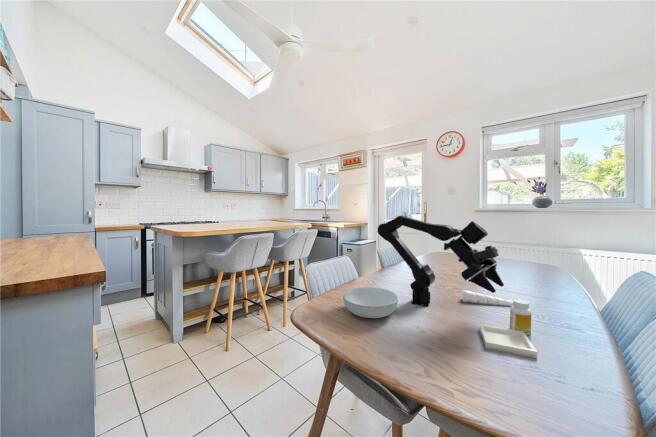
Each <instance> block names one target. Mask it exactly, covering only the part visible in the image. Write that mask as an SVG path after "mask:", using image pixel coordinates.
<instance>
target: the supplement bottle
mask: <svg viewBox="0 0 656 437" xmlns="http://www.w3.org/2000/svg"><path fill="white" fill-rule="evenodd" d="M512 302H513V305H514V306H510V308H509V309H510V310H509V312H510V314H509V329H512V330H518V331H524V333H525V334H526V336H529V335H530V334H531V333H532V310H531V309H529V308H530V302H528V301H526V300H524V299H519V298H518V299H513V300H512Z"/></svg>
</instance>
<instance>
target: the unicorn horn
mask: <svg viewBox="0 0 656 437" xmlns="http://www.w3.org/2000/svg"><path fill="white" fill-rule="evenodd" d="M461 300H462V302H464V303H473V304H474V303H475V304H484V305H493V306H494V305H495V306H504V307H512V306H514V305H513V300H507V299H504V298H499V297H496V296H491V295H487V294H484V293H483V294H482V293H480V292H479V293H478V292H474V291H470V290H466V289H463V290H462V293H461Z"/></svg>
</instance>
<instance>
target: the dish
mask: <svg viewBox="0 0 656 437" xmlns="http://www.w3.org/2000/svg"><path fill="white" fill-rule="evenodd" d="M479 332H480V335H481V338H482V342H483V343H484V344H483V345H484V347H485V349H488V350H492V351H498V352H503V353H507V354H513V355H519V356H524V357H528V358H534V359H538V350H537V349H536V347H535V346H534V344H533V343H532V341H531V340H530V339H529V337H528V335H526V334H525V333H524V331H518V330H512V329H510V328H505V327H500V326H495V325H494V326H492V325H488V324H481V323H480V324H479Z"/></svg>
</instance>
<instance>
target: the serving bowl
mask: <svg viewBox="0 0 656 437" xmlns="http://www.w3.org/2000/svg"><path fill="white" fill-rule="evenodd" d="M342 300H343V304H344V306H345V308H346V309H347V311H349V312H351V313H352V314H353V315H355V316H358V317H361V318H366V319H367V318H368V319H380V318H381V319H382V318H384V317H387V316H390V315H391V314H393V312H394V311H395V310H396V309H397V306H398V302H399V296H398V295H397V294H396V293H395V292H394V291H391V290H388V289H385V288H381V287H373V286H372V287H371V286H359V287H357V286H356V287H352V288H349V289H347V290H345V291H344V292H343V293H342Z"/></svg>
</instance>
